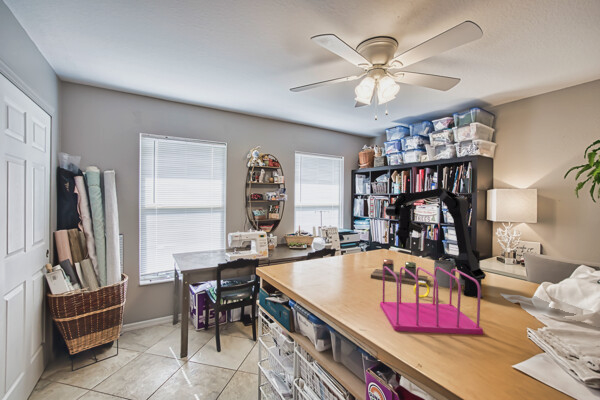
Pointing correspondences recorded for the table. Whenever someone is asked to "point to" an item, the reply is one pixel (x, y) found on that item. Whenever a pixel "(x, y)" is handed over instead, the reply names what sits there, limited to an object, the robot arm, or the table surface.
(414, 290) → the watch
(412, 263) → the olive plunger
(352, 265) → the table surface
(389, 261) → the terracotta plunger
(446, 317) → the file sorter
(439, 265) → the cup
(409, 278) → the dark brown stand
